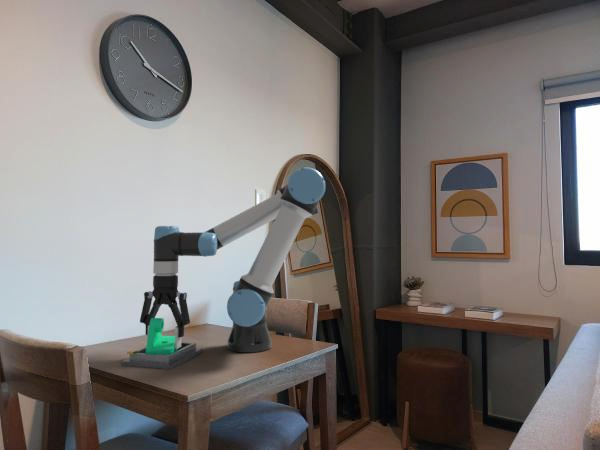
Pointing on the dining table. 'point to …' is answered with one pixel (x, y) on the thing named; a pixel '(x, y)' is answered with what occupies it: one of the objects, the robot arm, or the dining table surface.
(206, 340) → the dining table surface
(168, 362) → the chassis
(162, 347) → the camera mount
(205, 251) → the robot arm
